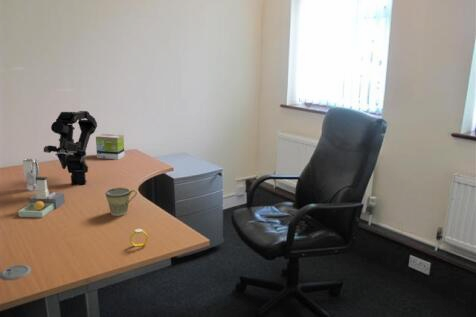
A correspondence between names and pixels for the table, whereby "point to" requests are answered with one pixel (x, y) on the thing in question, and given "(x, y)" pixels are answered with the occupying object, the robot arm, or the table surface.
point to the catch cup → (32, 212)
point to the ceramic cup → (118, 200)
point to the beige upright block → (41, 188)
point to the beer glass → (31, 173)
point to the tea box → (110, 146)
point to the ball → (39, 205)
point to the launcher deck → (50, 199)
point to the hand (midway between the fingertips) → (63, 168)
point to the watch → (138, 233)
